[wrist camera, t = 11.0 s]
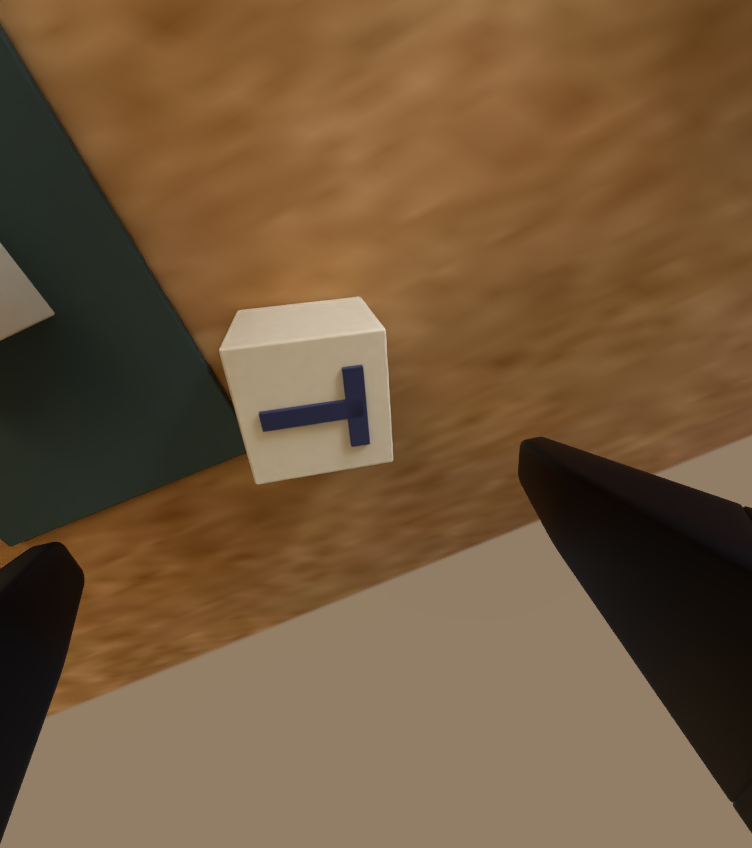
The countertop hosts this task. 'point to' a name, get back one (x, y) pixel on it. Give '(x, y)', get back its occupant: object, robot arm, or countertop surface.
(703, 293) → the countertop surface
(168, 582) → the countertop surface
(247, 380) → the tile
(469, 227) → the countertop surface
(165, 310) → the word mat
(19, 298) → the tile
